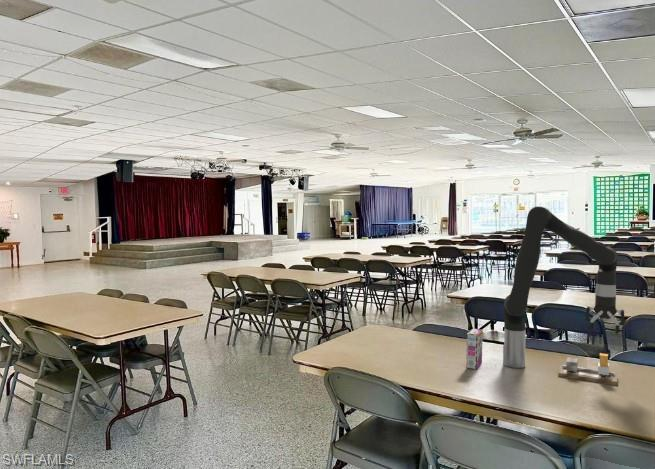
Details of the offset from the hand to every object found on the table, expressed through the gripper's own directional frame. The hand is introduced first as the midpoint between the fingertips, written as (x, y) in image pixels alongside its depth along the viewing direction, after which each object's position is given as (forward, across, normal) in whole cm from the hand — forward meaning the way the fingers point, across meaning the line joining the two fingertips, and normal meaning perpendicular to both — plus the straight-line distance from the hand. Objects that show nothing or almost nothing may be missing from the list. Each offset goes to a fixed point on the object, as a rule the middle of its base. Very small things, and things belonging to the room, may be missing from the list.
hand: (604, 332), depth 200 cm
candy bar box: (+21, +52, +9) cm, 57 cm away
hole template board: (+20, +6, 0) cm, 21 cm away
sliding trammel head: (+18, 0, 0) cm, 18 cm away
